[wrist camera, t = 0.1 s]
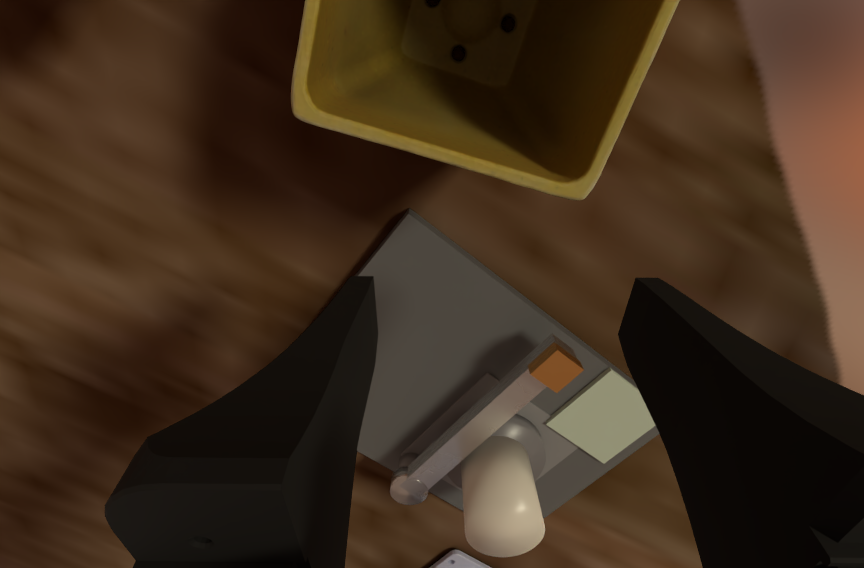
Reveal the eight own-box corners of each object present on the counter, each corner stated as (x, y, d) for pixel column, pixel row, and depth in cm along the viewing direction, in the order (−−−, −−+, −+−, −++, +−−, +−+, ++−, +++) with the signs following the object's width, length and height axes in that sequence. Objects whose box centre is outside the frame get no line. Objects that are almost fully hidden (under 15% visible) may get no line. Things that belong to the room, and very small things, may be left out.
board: (512, 527, 33) (517, 558, 31) (265, 386, 27) (252, 411, 25) (671, 409, 28) (689, 436, 26) (409, 207, 22) (407, 222, 20)
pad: (602, 460, 28) (604, 463, 28) (544, 421, 27) (546, 424, 27) (667, 411, 27) (669, 415, 26) (609, 367, 25) (611, 370, 25)
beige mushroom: (496, 496, 30) (507, 583, 25) (423, 453, 28) (420, 537, 23) (563, 443, 28) (590, 526, 23) (488, 393, 26) (501, 471, 21)
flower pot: (530, 151, 21) (588, 208, 13) (344, 94, 20) (283, 118, 12) (615, -75, 18) (770, -191, 9) (393, -159, 17) (352, -370, 8)
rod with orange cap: (413, 497, 28) (412, 520, 27) (383, 480, 27) (381, 504, 26) (577, 352, 23) (587, 372, 22) (546, 329, 23) (554, 347, 21)
